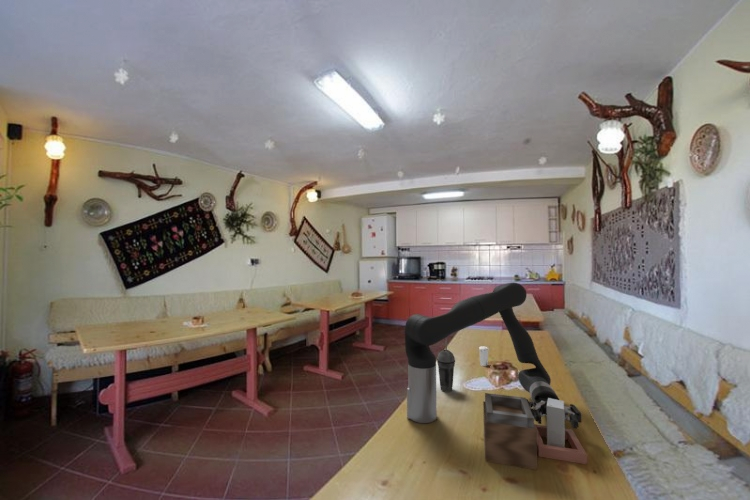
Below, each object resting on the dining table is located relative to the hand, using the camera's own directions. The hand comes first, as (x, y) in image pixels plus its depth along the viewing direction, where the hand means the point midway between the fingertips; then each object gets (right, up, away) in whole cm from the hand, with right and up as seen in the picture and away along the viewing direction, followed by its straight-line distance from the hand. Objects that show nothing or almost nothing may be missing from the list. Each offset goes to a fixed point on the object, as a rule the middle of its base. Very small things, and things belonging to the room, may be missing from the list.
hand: (557, 422), depth 84 cm
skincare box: (+1, -8, +2) cm, 8 cm away
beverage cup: (-21, -9, +40) cm, 46 cm away
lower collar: (+1, -8, +2) cm, 8 cm away
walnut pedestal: (-14, -8, 0) cm, 16 cm away
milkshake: (+4, -10, +67) cm, 68 cm away
